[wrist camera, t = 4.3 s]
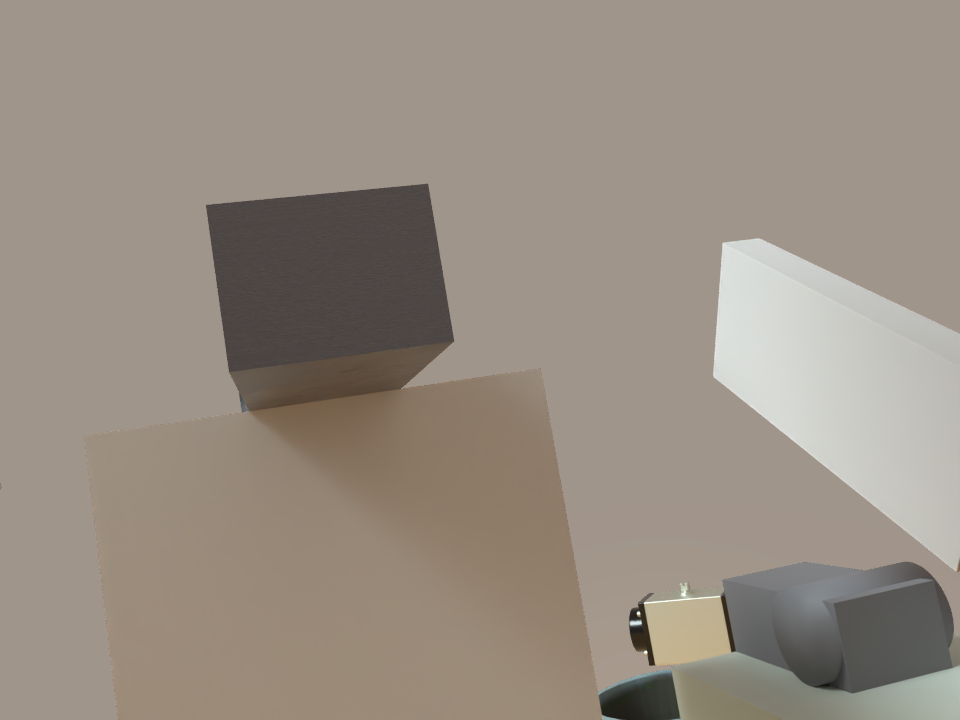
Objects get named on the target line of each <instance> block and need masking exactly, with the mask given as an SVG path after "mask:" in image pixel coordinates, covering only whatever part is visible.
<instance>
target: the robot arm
mask: <svg viewBox="0 0 960 720" xmlns="http://www.w3.org/2000/svg"><path fill="white" fill-rule="evenodd" d="M713 377H715V378H716V379H717V380H718V381H720V382H721V383H722V384H723V385H725V386H726V387H727V388H728V389H730V390H731V391H732V392H733V393H735V394H736V395H737V396H738V397H739V398H741V399H742V400H743V401H744V402H746V403H747V404H748V405H749V406H751V407H752V408H753V409H754V410H756V411H757V412H758V413H759V414H761V415H762V416H763V417H764V418H766V419H767V420H768V421H769V422H771V423H772V424H773V425H774V426H776V427H777V428H778V429H779V430H781V431H782V432H783V433H784V434H785V435H787V436H788V437H789V438H790V439H792V440H793V441H794V442H795V443H797V444H798V445H799V446H800V447H802V448H803V449H804V450H805V451H807V452H808V453H809V454H810V455H812V456H813V457H814V458H815V459H817V460H818V461H819V462H820V463H822V464H823V465H824V466H825V467H827V468H828V469H829V470H830V471H832V472H833V473H834V474H835V475H836V476H838V477H839V478H840V479H841V480H843V481H844V482H845V483H846V484H848V485H849V486H850V487H852V488H853V489H854V490H855V491H856V492H858V493H859V494H860V495H862V496H863V497H864V498H865V499H866V500H868V501H869V502H870V503H871V504H873V505H874V506H875V507H876V508H878V509H879V510H880V511H881V512H883V513H884V514H885V515H886V516H888V517H889V518H890V519H891V520H893V521H894V522H895V523H896V524H898V525H899V526H900V527H901V528H903V529H904V530H905V531H906V532H908V533H909V534H910V535H911V536H912V537H914V538H915V539H916V540H917V541H919V542H920V543H921V544H922V545H924V546H925V547H926V548H927V549H929V550H930V551H931V552H932V553H934V554H935V555H936V556H937V557H939V558H940V559H941V560H942V561H944V562H945V563H946V564H947V565H949V566H950V567H951V568H952V569H954V570H955V571H956V572H958V571H960V334H959V333H957V332H955V331H953V330H951V329H949V328H946V327H944V326H942V325H940V324H938V323H936V322H934V321H932V320H930V319H927V318H925V317H923V316H921V315H919V314H917V313H915V312H913V311H911V310H909V309H906V308H904V307H902V306H900V305H898V304H896V303H894V302H892V301H890V300H888V299H886V298H883V297H881V296H879V295H877V294H875V293H873V292H871V291H869V290H866V289H864V288H862V287H860V286H858V285H856V284H854V283H852V282H850V281H848V280H846V279H844V278H841V277H839V276H837V275H835V274H833V273H831V272H829V271H827V270H825V269H823V268H820V267H818V266H816V265H814V264H812V263H810V262H808V261H806V260H804V259H801V258H800V257H797V256H795V255H793V254H791V253H789V252H787V251H785V250H783V249H780V248H779V247H776V246H774V245H772V244H770V243H768V242H766V241H764V240H762V239H750V240H742V241H734V242H725V243H723V247H722V260H721V274H720V289H719V302H718V317H717V331H716V344H715V358H714V372H713ZM0 489H1V485H0Z"/></svg>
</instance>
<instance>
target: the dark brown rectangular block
mask: <svg viewBox="0 0 960 720" xmlns="http://www.w3.org/2000/svg"><path fill="white" fill-rule="evenodd" d="M206 208H207V215H208V222H209V230H210V237H211V244H212V251H213V259H214V266H215V273H216V281H217V288H218V295H219V302H220V309H221V317H222V324H223V331H224V338H225V346H226V353H227V360H228V367H229V373H230V375H231V377H232V378H233V381H234V383H235V385H236V387H237V389H238V391H239V394H240V402H241V408H242V412H248V411H255V410H262V409H268V408H275V407H282V406H289V405H295V404H302V403H309V402H316V401H323V400H329V399H336V398H343V397H350V396H356V395H363V394H370V393H377V392H383V391H390V390H397V389H401V388H402V387H403V386H404V385H406V384H407V383H408V382H409V381H410V380H411V379H412V378H414V377H415V376H416V375H417V374H418V373H419V372H420V371H421V370H422V369H424V368H425V367H426V366H427V365H428V364H429V363H430V362H431V361H433V359H435V358H436V357H437V356H438V355H439V354H440V353H442V352H443V351H444V350H445V349H446V348H447V347H448V346H449V345H450V344H452V342H454V338H453V332H452V326H451V320H450V314H449V308H448V302H447V295H446V290H445V284H444V278H443V271H442V266H441V260H440V254H439V248H438V241H437V236H436V230H435V223H434V217H433V211H432V205H431V200H430V193H429V187H428V184H422V185H411V186H401V187H390V188H379V189H369V190H359V191H349V192H338V193H328V194H317V195H306V196H296V197H286V198H275V199H264V200H254V201H243V202H233V203H223V204H212V205H206Z"/></svg>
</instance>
